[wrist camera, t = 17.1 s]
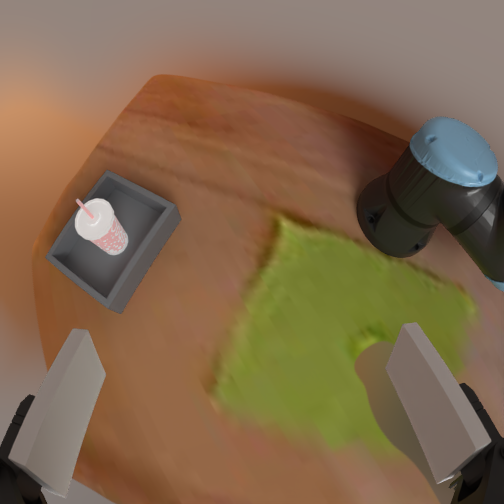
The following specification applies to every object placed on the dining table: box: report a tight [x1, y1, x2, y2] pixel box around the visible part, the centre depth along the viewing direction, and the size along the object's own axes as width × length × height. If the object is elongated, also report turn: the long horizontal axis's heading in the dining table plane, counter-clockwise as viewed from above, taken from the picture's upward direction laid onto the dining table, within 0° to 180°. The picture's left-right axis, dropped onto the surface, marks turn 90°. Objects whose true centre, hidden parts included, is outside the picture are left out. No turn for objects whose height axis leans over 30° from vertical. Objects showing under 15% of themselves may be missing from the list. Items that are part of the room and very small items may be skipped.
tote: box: [45, 170, 181, 314], centre depth 44 cm, size 18×15×5 cm
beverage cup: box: [75, 198, 128, 255], centre depth 38 cm, size 6×6×14 cm
